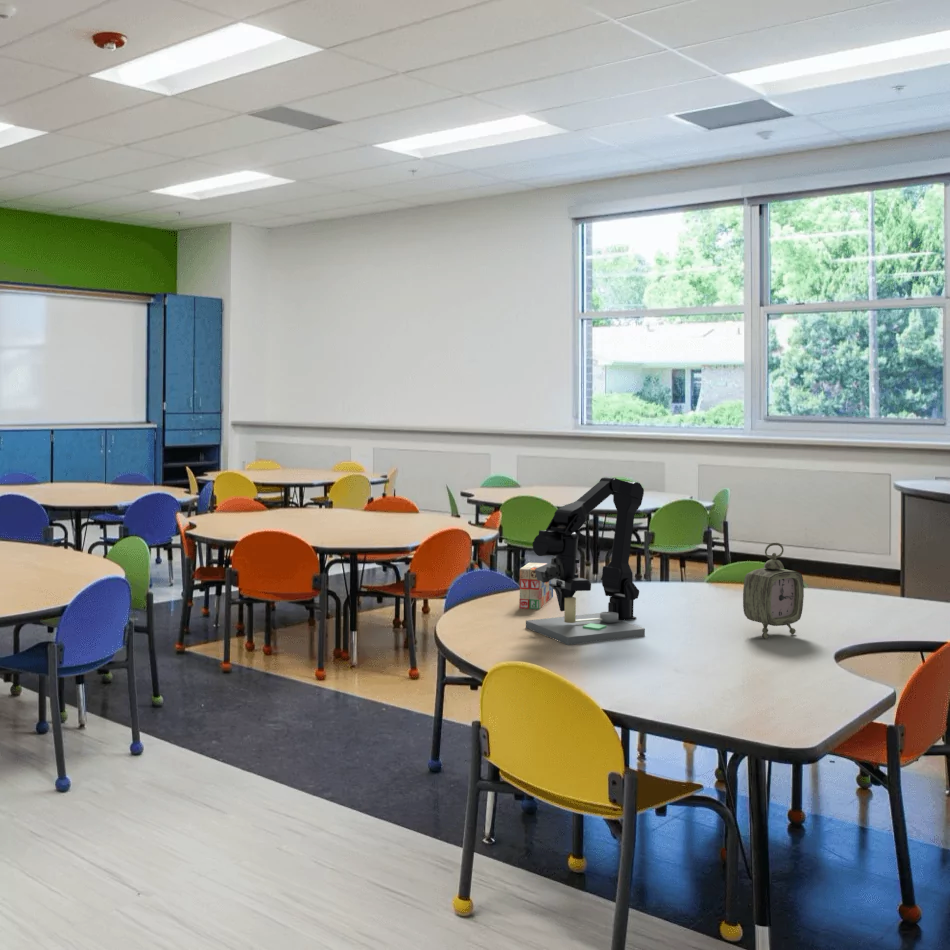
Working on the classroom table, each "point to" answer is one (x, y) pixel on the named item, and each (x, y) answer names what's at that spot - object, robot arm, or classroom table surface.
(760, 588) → the tabletop clock
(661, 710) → the classroom table surface
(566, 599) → the beige and grey mallet
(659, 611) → the classroom table surface
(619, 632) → the gauge plate
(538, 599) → the stack of blocks
